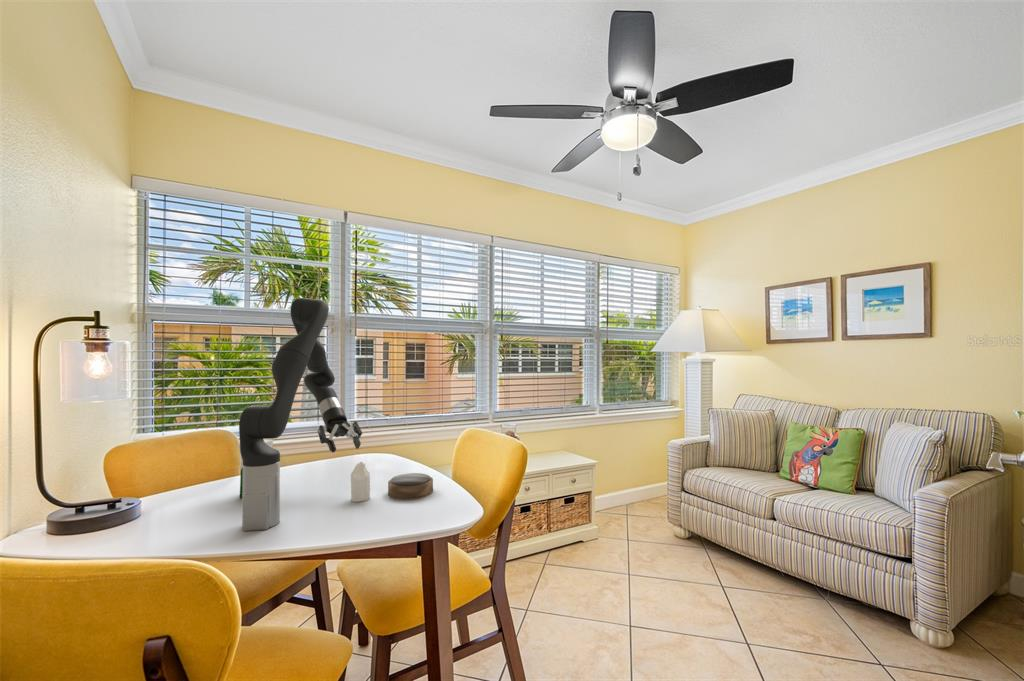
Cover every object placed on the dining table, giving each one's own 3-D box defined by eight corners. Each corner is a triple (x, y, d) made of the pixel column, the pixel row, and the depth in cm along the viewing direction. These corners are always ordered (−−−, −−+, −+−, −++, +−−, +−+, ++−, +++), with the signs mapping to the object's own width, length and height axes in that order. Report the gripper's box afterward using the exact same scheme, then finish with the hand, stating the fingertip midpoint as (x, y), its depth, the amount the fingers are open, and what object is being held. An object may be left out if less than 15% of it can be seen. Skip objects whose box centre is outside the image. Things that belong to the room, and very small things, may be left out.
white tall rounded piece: (351, 465, 146) (349, 461, 151) (351, 502, 146) (349, 497, 151) (371, 463, 149) (368, 459, 154) (371, 500, 149) (368, 495, 154)
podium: (432, 497, 150) (432, 483, 150) (386, 500, 148) (386, 485, 148) (432, 484, 165) (432, 471, 165) (390, 487, 163) (390, 473, 163)
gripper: (315, 407, 159) (329, 445, 150) (354, 404, 169) (369, 439, 160) (309, 421, 162) (322, 459, 154) (348, 417, 172) (362, 452, 164)
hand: (346, 449), depth 157 cm, fingers open, 8 cm apart
